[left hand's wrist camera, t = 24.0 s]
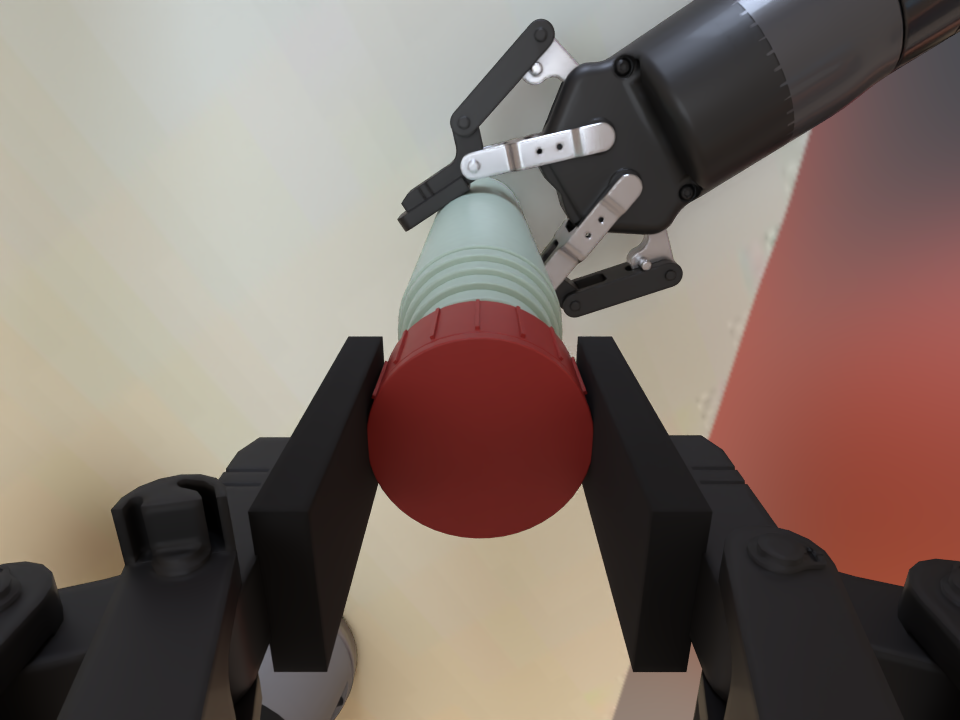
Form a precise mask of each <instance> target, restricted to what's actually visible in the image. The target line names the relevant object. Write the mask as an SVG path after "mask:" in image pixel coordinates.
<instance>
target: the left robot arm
mask: <svg viewBox="0 0 960 720" xmlns="http://www.w3.org/2000/svg"><path fill="white" fill-rule="evenodd" d="M576 364H577V367H578V370H579V372H580V375H581V378H582V380H583V383H584V386H585V388H586V391H587V394H586V395H585V397H586V400H587V403H588V405H589V408H590V412H591V416H592V420H593V441H592V454H591V463H590V466H589V469H588V472H587V474H586V476H585V478H584V480H583V482H582V485H583V489H584V492H585V496H586V500H587V503H588V507H589V511H590V514H591V518H592V522H593V525H594V529H595V533H596V537H597V540H598V544H599V548H600V551H601V555H602V559H603V562H604V566H605V570H606V573H607V577H608V581H609V584H610V588H611V592H612V596H613V599H614V603H615V607H616V610H617V614H618V618H619V621H620V625H621V629H622V632H623V636H624V640H625V644H626V647H627V651H628V655H629V658H630V662H631V666H632V669H633V672H686V671H687V665H688V659H689V653H690V647H691V642H692V644H693V647H694V649H695V652H696V654H697V657H698V659H699V662H700V664H701V667H702V673H701V679H700V685H699V690H698V696H697V702H696V707H695V713H694V719H693V720H960V562H959V561H952V560H943V559H932V560H926V561H920V562H918V563H917V564H915V565H914V566H913V567H912V568H911V569H909V572H908V575H907V578H906V582H905V585H904V587H903V586H898V585H893V584H888V583H884V582H879V581H874V580H869V579H865V578H860V577H855V576H852V575H848V574H845V573H841V572H838V570H837V568H836V566H835V564H834V563H833V561H832V560H831V558H830V557H829V556H828V554H827V553H826V552H825V551H824V550H823V549H822V548H820V547H819V546H817V545H816V544H815V543H813V542H812V541H811V540H809V539H807V538H805V537H803V536H800V535H798V534H796V533H794V532H791V531H789V530H785V529H781V528H778V527H777V526H776V524H775V523H774V521H773V520H772V518H771V517H770V516H769V514H768V513H767V511H766V510H765V509H764V507H763V506H762V504H761V503H760V502H759V500H758V499H757V497H756V496H755V495H754V493H753V492H752V490H751V489H750V487H749V486H748V485H747V484H745V481H744V479H743V478H742V476H741V475H740V473H739V472H738V471H737V470H735V466H734V465H733V464H732V462H731V461H730V459H729V458H728V456H727V455H726V454H725V452H724V451H723V450H722V449H721V448H719V447H718V446H716V445H715V444H713V443H712V442H710V441H709V440H707V439H706V438H704V437H703V436H701V435H668V433H667V431H666V430H665V428H664V426H663V424H662V423H661V421H660V419H659V418H658V416H657V414H656V412H655V411H654V409H653V407H652V405H651V404H650V402H649V400H648V398H647V397H646V395H645V393H644V392H643V390H642V388H641V386H640V385H639V383H638V381H637V379H636V378H635V376H634V374H633V372H632V371H631V369H630V367H629V365H628V364H627V362H626V360H625V359H624V357H623V355H622V353H621V352H620V350H619V348H618V346H617V345H616V343H615V341H614V339H613V338H612V337H578V344H577V360H576ZM383 365H384V353H383V337H348V338H347V340H346V342H345V344H344V345H343V347H342V349H341V351H340V352H339V354H338V356H337V358H336V359H335V361H334V363H333V365H332V366H331V368H330V370H329V371H328V373H327V375H326V377H325V378H324V380H323V382H322V384H321V385H320V387H319V389H318V391H317V392H316V394H315V396H314V397H313V399H312V401H311V403H310V404H309V406H308V408H307V410H306V411H305V413H304V415H303V417H302V418H301V420H300V422H299V424H298V425H297V427H296V429H295V430H294V432H293V434H292V436H291V437H260V438H258V439H257V440H255V441H254V442H252V443H251V444H249V445H248V446H246V447H245V448H243V449H242V450H240V451H239V452H238V453H237V454H236V455H235V457H234V458H233V460H232V461H231V463H230V464H229V465H228V467H227V468H226V472H224V473H223V474H222V475H221V477H220V478H219V480H218V479H217V478H214V477H210V476H206V475H201V474H188V475H177V476H172V477H167V478H162V479H158V480H155V481H153V482H150V483H148V484H145V485H142V486H140V487H138V488H136V489H135V490H133V491H132V492H130V493H128V494H127V495H125V496H124V497H122V498H121V499H120V500H119V501H118V502H117V504H116V505H115V506H114V507H113V508H112V509H111V512H112V516H113V520H114V524H115V528H116V532H117V535H118V539H119V543H120V547H121V551H122V555H123V558H124V562H125V567H124V569H123V571H122V574H121V575H119V576H115V577H111V578H108V579H104V580H99V581H94V582H90V583H85V584H80V585H75V586H71V587H66V588H61V589H57V586H56V583H55V580H54V577H53V574H52V572H51V571H50V570H49V569H48V568H46V567H45V566H44V565H43V564H37V563H32V562H16V563H7V564H1V565H0V720H334V719H335V718H336V717H337V715H338V714H339V712H340V711H341V709H342V708H343V706H344V704H345V702H346V700H347V698H348V696H349V694H350V691H351V688H352V684H353V679H354V675H355V670H356V665H357V650H356V645H355V641H354V638H353V635H352V633H351V631H350V629H349V627H348V625H347V624H346V622H345V620H344V619H343V618H342V616H343V612H344V608H345V604H346V601H347V597H348V593H349V590H350V586H351V582H352V579H353V575H354V571H355V568H356V564H357V560H358V556H359V553H360V549H361V545H362V542H363V538H364V534H365V531H366V527H367V523H368V520H369V516H370V512H371V509H372V505H373V501H374V497H375V494H376V490H377V486H378V481H377V479H376V478H375V475H374V473H373V470H372V468H371V465H370V461H369V449H368V435H367V422H368V417H369V413H370V410H371V407H372V404H373V402H374V399H372V398H371V397H372V395H373V392H374V389H375V387H376V384H377V381H378V379H379V376H380V373H381V371H382V368H383Z"/></svg>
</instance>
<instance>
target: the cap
mask: <svg viewBox="0 0 960 720" xmlns="http://www.w3.org/2000/svg"><path fill="white" fill-rule="evenodd" d="M586 394H587V391H586V388H585V386H584V383H583V380H582V378H581V375H580V372H579V370H578V367H577V364H576V362H575V359H574V357H572V358H571V357H570V355H569V352H568V351H567V349H566V347H565V345H564V344H563V342H562V341H561V340H560V338H559V337H558V336H557V335H556V333H555V331H554V328H553V327H552V326H551V327H549V326H547V325H546V324H545V323H544V322H543V321H541V320H540V319H538V318H537V317H536V316H534V315H532V314H530V313H528V312H526V311H525V310H522V309H521V308H520V307H519V306H516V307H514V306H512V305H508V304H504V303H499V302H491V301H480V299H476V301H468V302H462V303H456V304H453V305H449V306H446V307H443V308H441V309H440V308H436V310H435V311H434V312H432V313H430V314H428V315H427V316H425V317H423V318H422V319H420V320H419V321H418V322H417V323H415V324H414V325H413V326H412V327H411V328H410V329H409V330H408V331H407V330H405V331H404V332H403V335H402V337H401V339H400V340H399V342H398V343H397V344H396V346H395V348H394V350H393V352H392V353H391V355H390V358H389V360H388V362H387V361H385V363H384V365H383V368H382V371H381V373H380V376H379V379H378V381H377V384H376V387H375V389H374V392H373V395H372V397H371V398H372V399H374V402H373V404H372V407H371V410H370V413H369V417H368V422H367V435H368V449H369V461H370V465H371V468H372V470H373V473H374V475H375V478H376V479H377V481H378V483H379V485H380V486H381V488H382V490H383V491H384V492H385V494H386V495H387V496H388V497H389V499H390V500H391V501H392V502H393V503H394V504H395V505H396V506H397V507H398V508H399V509H400V510H401V511H403V512H404V513H405V514H407V515H408V516H409V517H411V518H412V519H414V520H416V521H417V522H419V523H421V524H422V525H425V526H427V527H429V528H431V529H434V530H436V531H439V532H442V533H445V534H449V535H454V536H459V537H466V538H494V537H502V536H507V535H511V534H515V533H518V532H521V531H524V530H527V529H530V528H532V527H534V526H536V525H538V524H540V523H542V522H543V521H545V520H546V519H548V518H550V517H551V516H553V515H554V514H555V513H556V512H558V511H559V510H560V509H561V508H562V507H564V506H565V504H566V503H567V502H568V501H569V500H570V499H571V498H572V497H573V496H574V494H575V493H576V491H577V490H578V489H579V487H580V486H581V484H582V482H583V480H584V478H585V476H586V474H587V472H588V469H589V466H590V463H591V454H592V441H593V420H592V416H591V412H590V408H589V405H588V403H587V400H586V397H585V395H586Z"/></svg>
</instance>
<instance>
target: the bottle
mask: <svg viewBox="0 0 960 720" xmlns="http://www.w3.org/2000/svg"><path fill="white" fill-rule="evenodd" d="M476 299H480V301H491V302H499V303H504V304H508V305H512V306H514V307H516V306H519V307H520V308H521V309H522V310H525V311H526V312H528V313H530V314H532V315H534V316H536V317H537V318H538V319H540V320H541V321H543V322H544V323H545V324H546V325H547V326H549V327H551V326H552V327H553V328H554V331H555V333H556V335H557V336H558V337H559V338H560V340H561V341H562V318H561V309H560V305H559V301H558V298H557V295H556V292H555V290H554V287H553V285H552V283H551V280H550V278H549V275H548V273H547V270H546V268H545V266H544V263H543V261H542V258H541V256H540V253H539V251H538V249H537V246H536V244H535V241H534V239H533V236H532V234H531V232H530V229H529V227H528V224H527V222H526V219H525V217H524V215H523V212H522V210H521V207H520V205H519V202H518V200H517V198H516V196H515V195H514V193H513V192H512V191H511V190H510V189H509V188H508V187H507V186H506V185H505V184H503V183H502V182H500V181H498V180H496V179H494V178H490V177H486V178H482V179H478V180H475V181H474V182H472V183H471V186H470V190H469V191H467V192H466V193H464V194H463V195H461V196H460V197H458V198H456V199H455V200H453V201H451V202H450V203H449V204H447V205H446V206H445V207H443V208H442V209H440V210H439V211H438V213H437V215H436V218H435V220H434V222H433V225H432V227H431V230H430V232H429V235H428V237H427V240H426V242H425V244H424V247H423V249H422V252H421V254H420V257H419V259H418V262H417V264H416V266H415V269H414V271H413V274H412V276H411V279H410V281H409V284H408V286H407V288H406V291H405V293H404V296H403V298H402V302H401V306H400V310H399V324H398V340H400V339H401V337H402V335H403V332H404V331H405V330H407V331H408V330H409V329H410V328H411V327H412V326H413V325H414V324H415V323H417V322H418V321H419V320H420V319H422V318H423V317H425V316H427V315H428V314H430V313H432V312H434V311H435V310H436V308H440V309H441V308H443V307H446V306H449V305H453V304H456V303H462V302H468V301H476Z"/></svg>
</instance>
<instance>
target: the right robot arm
mask: <svg viewBox="0 0 960 720" xmlns="http://www.w3.org/2000/svg"><path fill="white" fill-rule="evenodd" d="M958 32H960V0H694V1H692V2H691V3H689V4H688V5H686V6H685V7H683V8H682V9H680V10H679V11H678V12H676V13H675V14H673V15H672V16H670V17H669V18H667V19H666V20H664V21H663V22H661V23H660V24H658V25H657V26H655V27H654V28H653V29H651V30H650V31H648V32H647V33H645V34H644V35H642V36H641V37H639V38H638V39H636V40H635V41H633V42H632V43H630V44H629V45H627V46H626V47H625V48H623V49H622V50H620V51H619V52H617V53H616V54H614V55H613V56H611V57H610V58H608V59H606V60H604V61H600V62H590V63H584V64H581V65H579V64H578V63H577V62H576V61H575V59H574V58H573V57H572V56H571V55H570V54H569V53H568V52H567V51H566V49H565V48H564V47H563V46H562V45H561V44H560V43H559V42H558V41H557V40H556V38H555V31H554V28H553V26H552V24H551V23H550V22H549V21H547V20H545V19H537V20H535V21H533V22H532V23H531V24H530V25H529V26H528V27H527V29H526V30H525V31H524V32H523V33H522V34H521V35H520V37H519V38H518V39H517V40H516V41H515V42H514V44H513V45H512V46H511V47H510V48H509V49H508V51H507V52H506V53H505V54H504V55H503V56H502V57H501V59H500V60H499V61H498V62H497V63H496V64H495V66H494V67H493V68H492V69H491V70H490V71H489V73H488V74H487V75H486V76H485V77H484V78H483V79H482V81H481V82H480V83H479V84H478V85H477V86H476V88H475V89H474V90H473V91H472V92H471V93H470V94H469V96H468V97H467V98H466V99H465V100H464V101H463V103H462V104H461V105H460V106H459V107H458V108H457V110H456V111H455V112H454V113H453V114H452V116H451V120H450V125H451V128H452V131H453V136H454V140H455V144H456V157H455V159H454V160H453V161H452V162H451V163H450V164H449V165H447V166H446V167H444V168H443V169H441V170H440V171H438V172H437V173H435V174H434V175H433V176H431V177H430V178H428V179H427V180H425V181H424V182H422V183H421V184H419V185H418V186H416V187H415V188H413V189H412V190H411V191H410V192H409V193H408V194H407V196H406V197H405V199H404V200H403V202H402V203H401V204H402V205H403V207H404V208H405V210H406V211H405V212H404V213H402V214H401V215H400V216H399V218H398V219H397V220H398V221H399V223H400V224H401V226H402V227H403V229H404V230H405V232H406V231H408V230H410V229H412V228H413V227H415V226H416V225H418V224H419V223H421V222H422V221H424V220H425V219H427V218H428V217H430V216H431V215H433V214H434V213H436V212H437V211H439V210H440V209H442V208H443V207H445V206H446V205H447V204H449V203H450V202H451V201H453V200H455V199H456V198H458V197H460V196H461V195H463V194H464V193H466V192H467V191H469V190H470V186H471V183H472V182H474V181H475V180H478V179H482V178H486V177H490V176H495V175H499V174H503V173H507V172H512V171H520V170H525V169H529V168H533V167H539V169H540V171H541V173H542V174H543V176H544V178H545V179H546V180H547V181H548V182H549V183H550V184H551V185H552V186H553V187H554V188H555V189H556V191H557V194H558V198H559V202H560V205H561V207H562V208H563V210H564V212H565V214H566V215H567V219H566V220H565V221H564V222H563V224H562V225H561V226H560V227H559V229H558V230H557V231H556V233H555V235H554V237H553V239H552V240H551V242H550V243H549V244H548V246H547V247H546V248H545V249H544V251H543V252H542V253H541V254H540V256H541V258H542V261H543V263H544V266H545V268H546V270H547V273H548V275H549V278H550V280H551V283H552V285H553V287H554V290H555V292H556V295H557V298H558V301H559V305H560V307H561V308H562V309H563V310H564V312H565V313H566V314H567V315H568V316H570V317H580V316H583V315H586V314H589V313H592V312H595V311H598V310H601V309H605V308H608V307H611V306H614V305H617V304H620V303H623V302H626V301H629V300H632V299H636V298H639V297H642V296H645V295H648V294H651V293H654V292H657V291H660V290H663V289H667V288H670V287H673V286H675V285H677V284H678V283H679V282H680V281H681V279H682V275H683V272H682V269H681V267H680V266H679V265H678V264H677V263H676V262H675V261H674V259H673V255H672V251H671V247H670V242H669V238H668V234H667V230H666V229H667V228H668V227H669V226H670V225H671V223H672V222H673V220H674V219H675V217H676V216H677V214H678V213H679V212H680V211H681V209H682V208H683V207H684V206H686V205H687V204H688V203H690V202H691V201H693V200H695V199H697V198H699V197H700V196H702V195H704V194H705V193H707V192H709V191H710V190H712V189H713V188H715V187H717V186H718V185H720V184H722V183H723V182H725V181H727V180H728V179H730V178H731V177H733V176H735V175H736V174H738V173H740V172H741V171H743V170H745V169H746V168H748V167H749V166H751V165H753V164H754V163H756V162H758V161H759V160H761V159H762V158H764V157H766V156H768V155H769V154H771V153H772V152H774V151H776V150H777V149H779V148H781V147H782V146H784V145H786V144H787V143H789V142H790V141H792V140H794V139H795V138H797V137H799V136H800V135H802V134H804V133H805V132H807V131H809V130H810V129H812V128H813V127H815V126H817V125H818V124H820V123H822V122H823V121H825V120H826V119H828V118H830V117H831V116H833V115H834V114H836V113H837V112H839V111H840V110H842V109H843V108H845V107H846V106H847V105H849V104H850V103H851V102H853V101H854V100H855V99H857V98H858V97H859V96H860V95H862V94H863V93H864V92H865V91H867V90H868V89H869V88H870V87H872V86H873V85H874V84H876V83H877V82H878V81H880V80H881V79H883V78H884V77H886V76H887V75H889V74H891V73H892V72H894V71H896V70H897V69H899V68H901V67H902V66H904V65H905V64H907V63H909V62H910V61H912V60H914V59H915V58H917V57H918V56H920V55H922V54H923V53H925V52H927V51H928V50H930V49H932V48H933V47H935V46H936V45H938V44H940V43H941V42H943V41H944V40H946V39H948V38H949V37H951V36H953V35H955V34H956V33H958ZM549 77H555V78H558V79H559V80H561V81H562V83H561V85H560V88H559V90H558V93H557V95H556V98H555V100H554V103H553V105H552V108H551V110H550V113H549V115H548V118H547V120H546V123H545V125H544V128H543V130H542V132H540V133H536V134H532V135H527V136H523V137H519V138H515V139H511V140H508V141H505V142H501V143H497V144H492V145H488V146H484V147H483V143H482V138H481V134H480V129H479V126H480V125H481V124H482V123H483V122H484V120H485V119H486V118H487V117H488V116H489V115H490V114H491V113H492V111H493V110H494V109H495V108H496V107H497V106H498V105H499V103H500V102H501V101H502V100H503V99H504V98H505V97H506V96H507V94H508V93H509V92H510V91H511V90H512V89H513V88H514V87H515V85H516V84H517V83H518V82H519V81H520V80H521V79H523V80H524V81H525V82H526V83H528V84H530V85H537V84H539V83H541V82H543V81H544V80H545V79H547V78H549ZM607 232H608V233H626V234H644V238H643V241H642V242H641V244H640V245H638V246H637V247H635V248H633V249H632V250H631V251H630V252H629V253H628V255H627V262H625V263H622V264H619V265H616V266H613V267H610V268H607V269H604V270H601V271H598V272H595V273H592V274H589V275H586V276H583V277H580V278H577V279H574V280H570V279H568V278H567V276H568V275H569V273H570V272H571V271H572V270H573V268H574V267H575V266H576V265H577V264H578V263H580V262H582V261H583V260H584V259H585V258H586V257H587V256H588V255H589V253H590V252H591V251H592V250H593V249H594V247H595V246H596V245H597V244H598V243H599V241H600V240H601V239H602V238H603V237H604V235H605V234H606V233H607ZM587 233H589V235H588V236H586V234H587Z"/></svg>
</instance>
